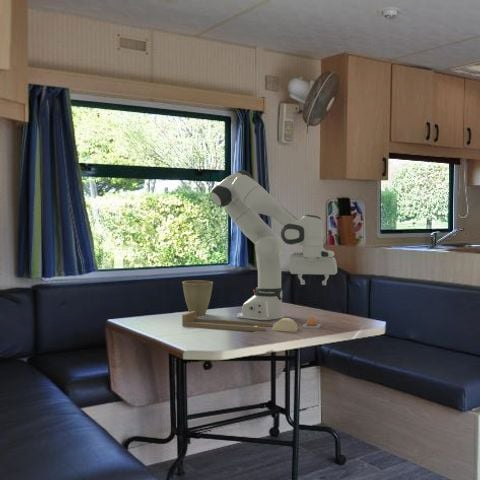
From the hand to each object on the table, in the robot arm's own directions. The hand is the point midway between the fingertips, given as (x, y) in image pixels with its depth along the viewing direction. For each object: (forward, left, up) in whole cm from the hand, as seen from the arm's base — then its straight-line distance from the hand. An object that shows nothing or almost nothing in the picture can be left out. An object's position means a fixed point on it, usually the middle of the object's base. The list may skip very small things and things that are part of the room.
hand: (313, 284), depth 254 cm
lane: (-30, -11, -24) cm, 39 cm away
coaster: (-1, -1, -19) cm, 19 cm away
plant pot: (-61, +13, -19) cm, 65 cm away
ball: (-1, -1, -18) cm, 18 cm away
